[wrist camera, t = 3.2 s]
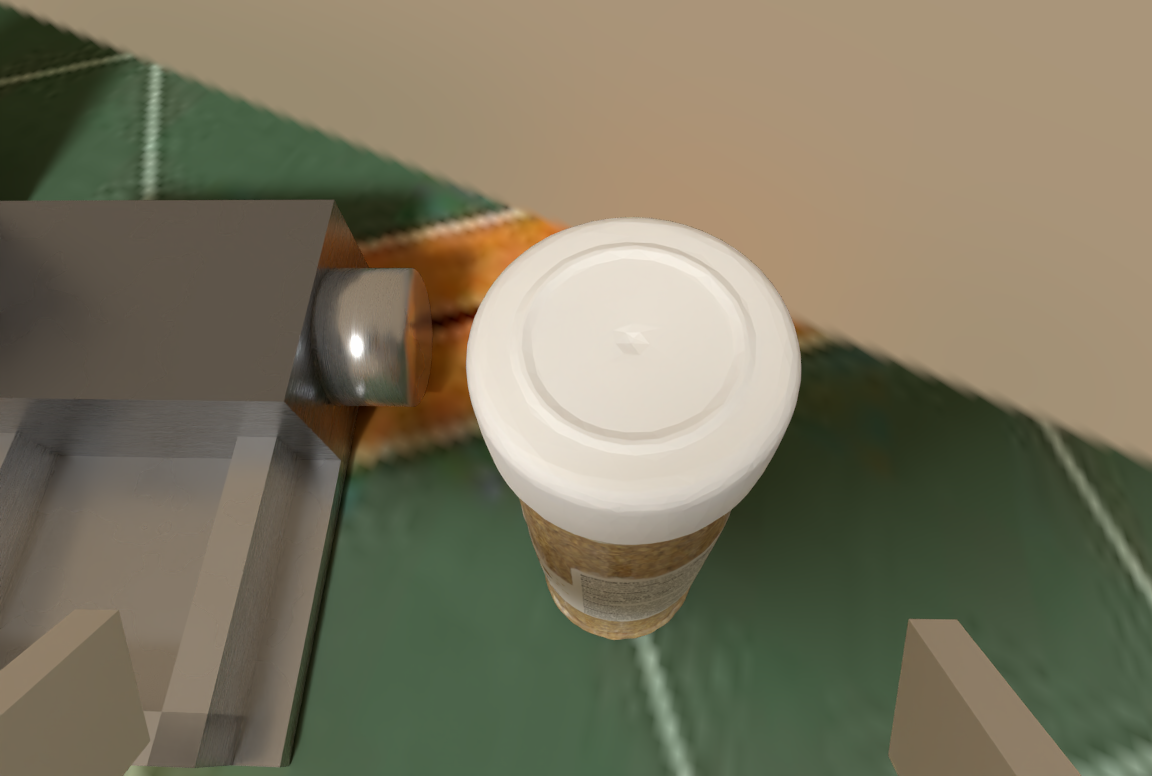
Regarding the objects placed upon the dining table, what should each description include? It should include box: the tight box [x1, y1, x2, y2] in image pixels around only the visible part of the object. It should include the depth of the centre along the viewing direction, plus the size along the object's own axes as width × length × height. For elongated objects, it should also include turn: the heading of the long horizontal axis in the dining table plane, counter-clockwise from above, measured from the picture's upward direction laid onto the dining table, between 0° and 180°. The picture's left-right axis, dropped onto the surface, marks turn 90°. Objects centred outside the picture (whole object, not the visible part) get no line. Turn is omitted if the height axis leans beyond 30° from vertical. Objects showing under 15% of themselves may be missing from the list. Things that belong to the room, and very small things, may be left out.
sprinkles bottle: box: [466, 217, 801, 640], centre depth 15 cm, size 5×5×14 cm
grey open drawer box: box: [0, 200, 432, 768], centre depth 20 cm, size 14×16×5 cm
